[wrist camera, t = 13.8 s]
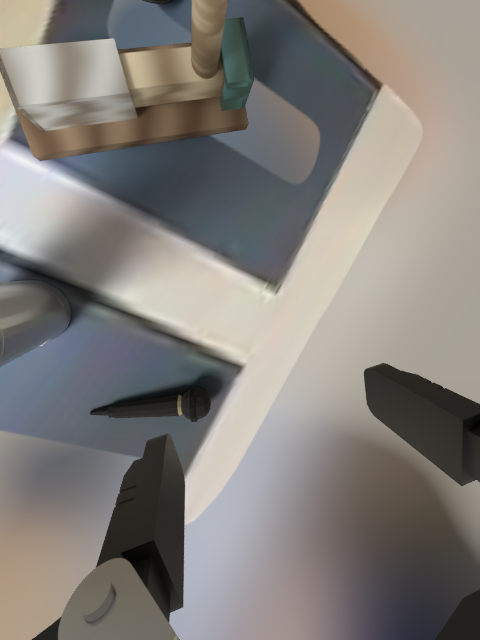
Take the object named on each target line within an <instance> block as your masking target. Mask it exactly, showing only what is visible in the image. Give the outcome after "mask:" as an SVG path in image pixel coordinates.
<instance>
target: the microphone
mask: <svg viewBox="0 0 480 640" xmlns="http://www.w3.org/2000/svg"><path fill="white" fill-rule="evenodd" d="M210 404H211V401H210V397H209V394H208V393H207V392H206V391H205V390H203V389H198V388H196V387H191V388H190V390H188V391H187V392H186V393H185V394H184V395H183V396H181V395H173V396H166V397H159V398H152V399H145V400H138V401H131V402H124V403H117V404H115V405H111V406H110V407H108V408H102V409H98V410H93V411H91V412H90V415H108V416H109V418H110V417H114V418H132V417H162V416H180V415H181V414H182V413H183V415H184V416H185V417H186V418H188V419H191V421H192V422H196V421H197V419H200V418H203V417H205V416H206V415H207V413H208V412H209V410H210Z"/></svg>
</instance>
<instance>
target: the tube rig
mask: <svg viewBox="0 0 480 640" xmlns="http://www.w3.org/2000/svg"><path fill="white" fill-rule="evenodd" d="M182 47H191V43H183V44H173V45H162V46H152V47H141V48H132V49H120V50H118V49H117V46H116V43H115V40H114V39H102V40H91V41H80V42H68V43H57V44H46V45H34V46H23V47H12V48H0V72H1V74H2V77H3V79H4V82H5V85H6V87H7V90H8V92H9V95H10V97H11V100H12V102H13V105H14V108H15V110H16V113H17V115H18V118H19V120H20V123H21V126H22V128H23V131H24V133H25V136H26V138H27V141H28V144H29V146H30V149H31V151H32V154H33V156H34V157H35V158H37V159H38V160H40V161H43V160H49V159H56V158H62V157H69V156H75V155H82V154H88V153H95V152H101V151H108V150H115V149H121V148H128V147H134V146H141V145H147V144H154V143H160V142H167V141H173V140H180V139H187V138H193V137H200V136H206V135H213V134H219V133H225V132H232V131H239V130H245V129H246V128H247V126H248V120H247V114H246V108H245V104H246V101H247V98H248V95H249V93H250V90H251V87H252V84H253V81H254V77H253V71H252V65H251V59H250V53H249V47H248V41H247V35H246V29H245V24H244V18H232V19H225V23H224V29H223V36H222V43H221V50H220V57H221V62H222V67H223V73H224V78H225V81H224V86H223V91H222V96H220V97H213V98H205V99H197V100H189V101H182V102H174V103H166V104H159V105H151V106H143V107H136V108H135V107H134V104H133V101H132V98H131V95H130V92H129V89H128V86H127V82H126V79H125V75H124V71H123V68H122V64H121V61H120V57H119V54H120V53H130V52H140V51H151V50H161V49H171V48H182Z"/></svg>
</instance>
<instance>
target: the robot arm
mask: <svg viewBox="0 0 480 640" xmlns="http://www.w3.org/2000/svg"><path fill="white" fill-rule="evenodd" d="M70 319H71V309H70V305H69V303H68V301H67V299H66V297H65V296H64V295H63V294H62V293H61V292H60V291H59V290H58V289H57V288H55V287H54V286H52V285H50V284H48V283H45V282H42V281H37V280H22V281H8V282H0V367H1V366H3V365H5V364H7V363H8V362H10V361H12V360H14V359H16V358H18V357H20V356H22V355H23V354H25V353H27V352H29V351H31V350H33V349H35V348H37V347H38V346H41V345H42V344H44V343H46V342H48V341H50V340H52V339H54V338H56V337H57V336H59V335H60V334H62V333H63V332H64V331H65V330H66V328H67V327H68V325H69V323H70ZM364 380H365V390H366V400H367V405H368V407H369V409H370V411H371V412H372V414H373V415H374V416H375V417H376V418H377V419H379V420H380V421H381V422H382V423H384V424H385V425H386V426H387V427H389V428H390V429H391V430H392V431H394V432H395V433H396V434H397V435H399V436H400V437H401V438H402V439H403V440H405V441H406V442H407V443H409V444H410V445H411V446H412V447H413V448H415V449H416V450H417V451H418V452H420V453H421V454H422V455H423V456H425V457H426V458H427V459H428V460H430V461H431V462H432V463H433V464H435V465H436V466H437V467H438V468H440V469H441V470H442V471H443V472H445V473H446V474H447V475H448V476H450V477H451V478H452V479H453V480H455V481H456V482H457V483H459V484H460V485H461V486H463V485H465V484H467V483H470V482H472V481H475V480H478V481H479V482H480V404H478V403H476V402H474V401H472V400H470V399H467V398H465V397H463V396H461V395H459V394H457V393H455V392H453V391H451V390H448V389H446V388H445V389H444V388H443V387H442V386H440V385H438V384H436V383H432V382H431V381H429V380H427V379H425V378H423V377H421V376H419V375H416V374H412V373H408V372H404V371H400V370H398V369H396V368H394V367H392V366H390V365H388V364H385V363H382V364H379V365H376V366H373V367H370V368H367V369H366V370H365V371H364ZM184 512H185V481H184V474H183V469H182V466H181V463H180V460H179V457H178V455H177V452H176V449H175V446H174V443H173V440H172V438H171V436H170V434H165V435H162V436H159V437H156V438H153V439H150V440H148V441H147V443H146V447H145V451H144V455H143V458H141V459H138V460H136V461H134V462H133V463H132V465H131V466H130V468H129V469H128V471H127V472H126V474H125V475H124V478H123V481H122V484H121V487H120V494H118V497H117V501H116V507H115V508H114V510H113V514H112V517H111V521H110V524H109V527H108V530H107V533H106V537H105V540H104V543H103V547H102V550H101V553H100V556H99V560H98V563H97V566H96V568H95V569H94V570H93V571H92V572H91V573H90V574H88V576H86V578H85V579H84V580H83V581H82V582H81V583H80V584H79V586H78V587H77V588H76V590H75V591H74V593H73V594H72V596H71V598H70V599H69V601H68V603H67V605H66V607H65V609H64V612H63V614H62V616H61V617H60V618H59V619H58V620H57V621H56V622H54V623H53V624H52V625H51V626H49V627H48V628H47V629H46V630H44V631H43V632H41V633H40V634H39V635H37V636H36V637H35V638H33V639H32V640H180V639H179V638H178V636H177V635H176V634H175V632H174V630H173V629H172V627H171V626H170V624H169V615H170V613H171V612H173V611H175V610H178V609H180V608H182V607H183V581H184ZM435 640H480V590H478V591H476V592H474V593H472V594H470V595H469V596H467V597H465V598H463V599H462V601H461V602H460V604H459V605H458V607H457V608H456V610H455V611H454V613H453V614H452V616H451V617H450V619H449V620H448V621H447V623H446V624H445V626H444V627H443V629H442V630H441V632H440V633H439V635H438V636H437V638H436V639H435Z"/></svg>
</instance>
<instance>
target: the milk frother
mask: <svg viewBox="0 0 480 640" xmlns="http://www.w3.org/2000/svg"><path fill="white" fill-rule="evenodd" d="M143 1H146V2H149V3H155V4H165V3H168V2H170V1H172V0H143Z"/></svg>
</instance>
